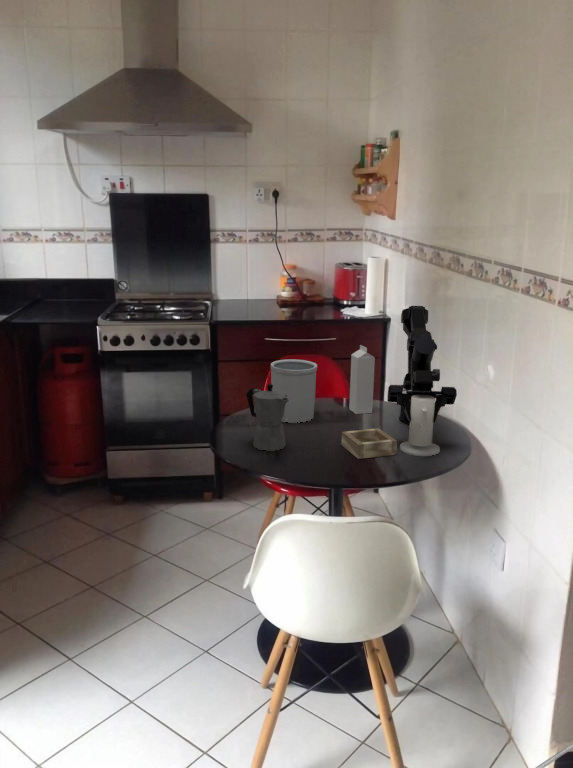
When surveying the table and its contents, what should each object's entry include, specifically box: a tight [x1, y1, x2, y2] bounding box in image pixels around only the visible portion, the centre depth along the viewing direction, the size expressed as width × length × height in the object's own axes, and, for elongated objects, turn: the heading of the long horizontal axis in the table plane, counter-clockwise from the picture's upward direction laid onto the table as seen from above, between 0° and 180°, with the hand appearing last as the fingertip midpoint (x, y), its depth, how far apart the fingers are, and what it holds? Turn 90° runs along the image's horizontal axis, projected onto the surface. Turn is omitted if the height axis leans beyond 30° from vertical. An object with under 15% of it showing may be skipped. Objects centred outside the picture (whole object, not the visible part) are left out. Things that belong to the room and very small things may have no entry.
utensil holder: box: [270, 358, 318, 424], centre depth 214 cm, size 15×15×18 cm
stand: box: [340, 427, 398, 460], centre depth 187 cm, size 11×11×4 cm
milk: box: [348, 344, 376, 415], centre depth 221 cm, size 6×6×22 cm
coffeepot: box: [245, 383, 289, 452], centre depth 188 cm, size 15×9×18 cm, turn 49°
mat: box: [399, 440, 441, 457], centre depth 188 cm, size 11×11×1 cm
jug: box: [408, 395, 436, 446], centre depth 185 cm, size 9×6×13 cm
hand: (422, 421), depth 185 cm, fingers closed on jug, 6 cm apart
